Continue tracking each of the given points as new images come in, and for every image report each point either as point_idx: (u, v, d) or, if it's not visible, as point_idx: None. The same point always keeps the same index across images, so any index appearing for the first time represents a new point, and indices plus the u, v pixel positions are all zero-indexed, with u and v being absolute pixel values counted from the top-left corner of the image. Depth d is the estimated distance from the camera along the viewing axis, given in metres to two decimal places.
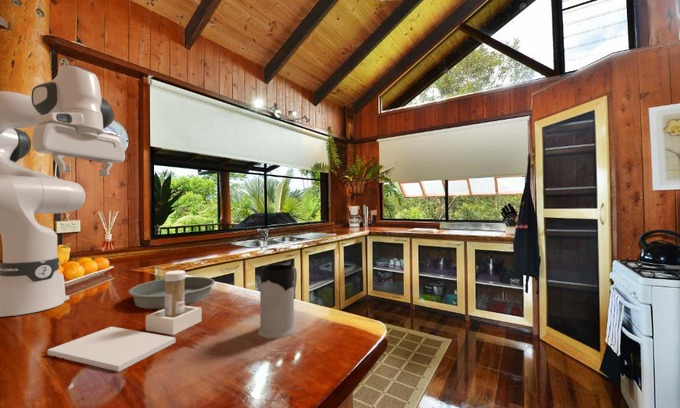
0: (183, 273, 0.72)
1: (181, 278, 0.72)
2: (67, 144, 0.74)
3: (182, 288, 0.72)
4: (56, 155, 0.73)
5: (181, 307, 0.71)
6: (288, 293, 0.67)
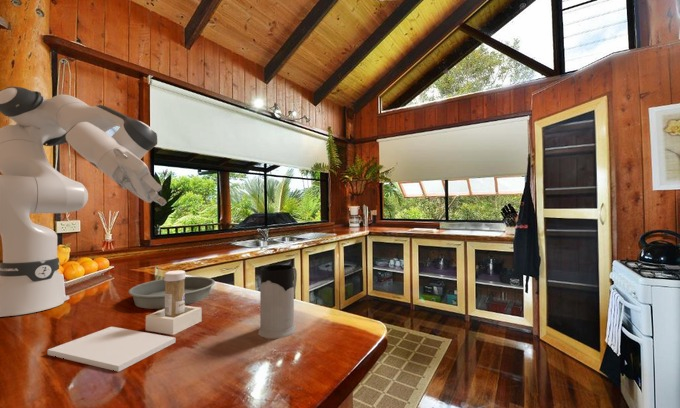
0: (183, 273, 0.72)
1: (181, 278, 0.72)
2: (140, 192, 0.85)
3: (182, 288, 0.72)
4: None
5: (180, 307, 0.71)
6: (288, 293, 0.67)
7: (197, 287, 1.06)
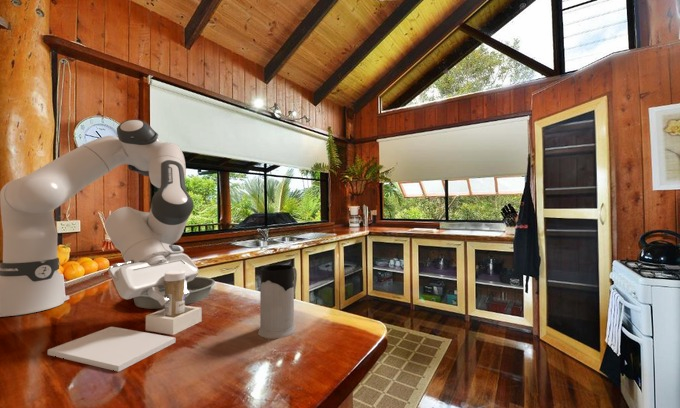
0: (183, 273, 0.72)
1: (181, 278, 0.72)
2: None
3: (182, 288, 0.72)
4: None
5: (180, 307, 0.71)
6: (288, 293, 0.67)
7: (197, 287, 1.06)
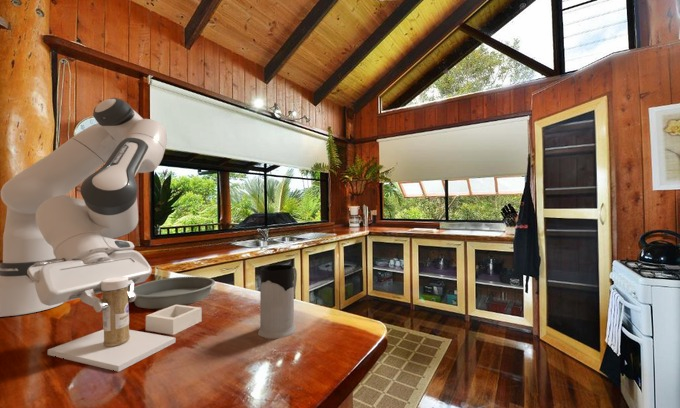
0: (125, 280, 0.61)
1: (122, 286, 0.60)
2: None
3: (124, 298, 0.61)
4: None
5: (122, 320, 0.60)
6: (288, 293, 0.67)
7: (197, 287, 1.06)
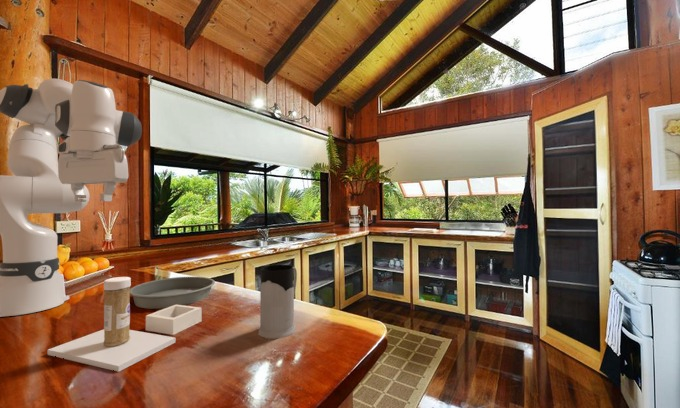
0: (127, 280, 0.61)
1: (124, 286, 0.60)
2: (72, 173, 0.72)
3: (126, 298, 0.61)
4: None
5: (123, 320, 0.60)
6: (288, 293, 0.67)
7: (197, 287, 1.06)
